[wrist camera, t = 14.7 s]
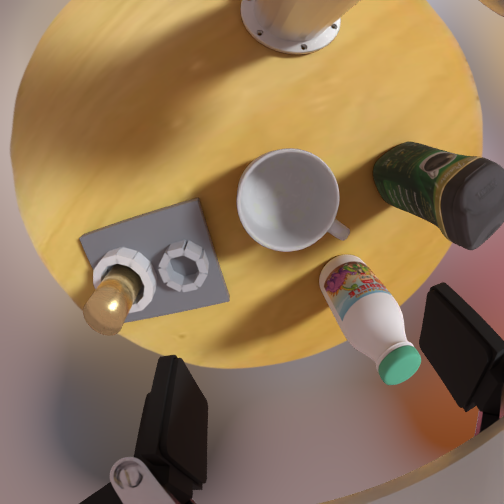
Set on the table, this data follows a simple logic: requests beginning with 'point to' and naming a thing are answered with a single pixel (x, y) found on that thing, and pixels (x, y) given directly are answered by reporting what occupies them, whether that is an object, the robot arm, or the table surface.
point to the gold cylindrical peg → (112, 300)
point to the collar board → (153, 249)
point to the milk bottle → (369, 317)
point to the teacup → (289, 200)
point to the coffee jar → (444, 190)
